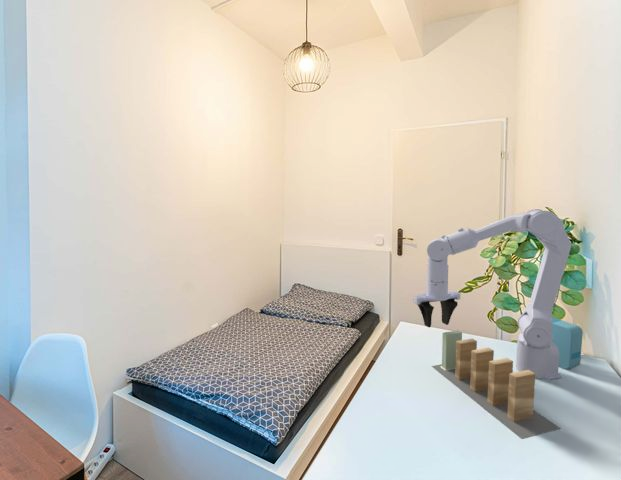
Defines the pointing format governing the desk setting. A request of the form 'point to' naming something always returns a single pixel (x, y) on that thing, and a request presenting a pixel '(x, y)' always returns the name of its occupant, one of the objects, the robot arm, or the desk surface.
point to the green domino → (450, 348)
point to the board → (501, 409)
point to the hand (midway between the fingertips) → (436, 324)
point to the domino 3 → (499, 381)
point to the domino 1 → (464, 358)
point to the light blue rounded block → (567, 342)
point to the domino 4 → (521, 395)
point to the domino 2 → (480, 368)
